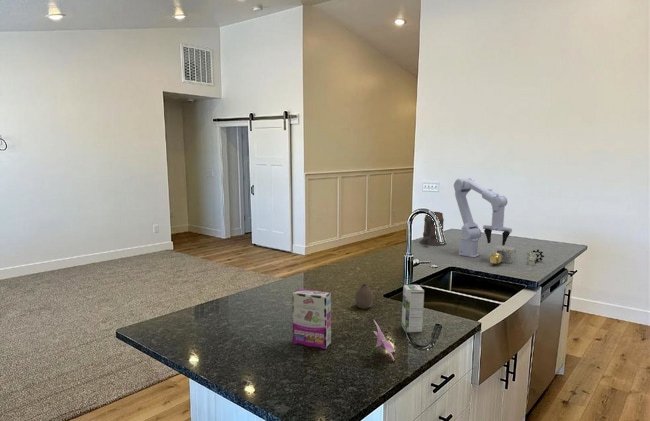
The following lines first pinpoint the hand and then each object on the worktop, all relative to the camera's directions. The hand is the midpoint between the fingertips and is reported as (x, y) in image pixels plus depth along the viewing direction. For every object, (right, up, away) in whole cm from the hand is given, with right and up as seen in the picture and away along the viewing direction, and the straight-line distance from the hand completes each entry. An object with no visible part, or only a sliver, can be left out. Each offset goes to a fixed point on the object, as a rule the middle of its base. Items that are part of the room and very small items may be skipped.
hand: (496, 244), depth 229 cm
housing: (+6, -9, +5) cm, 12 cm away
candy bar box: (-95, -24, -96) cm, 137 cm away
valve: (+20, -10, 0) cm, 22 cm away
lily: (-74, -25, -104) cm, 130 cm away
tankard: (-24, -4, +44) cm, 50 cm away
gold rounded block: (-2, -10, -4) cm, 11 cm away
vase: (-76, -19, -65) cm, 102 cm away
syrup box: (-62, -22, -85) cm, 107 cm away
